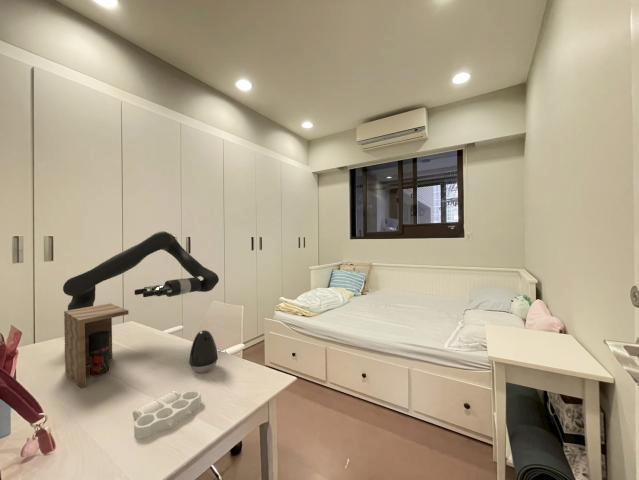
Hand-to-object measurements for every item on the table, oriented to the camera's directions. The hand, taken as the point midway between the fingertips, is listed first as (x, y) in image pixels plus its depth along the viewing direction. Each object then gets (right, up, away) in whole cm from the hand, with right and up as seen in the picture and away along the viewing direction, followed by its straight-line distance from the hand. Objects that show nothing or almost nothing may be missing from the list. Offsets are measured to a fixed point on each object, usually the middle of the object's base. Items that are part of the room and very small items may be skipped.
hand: (139, 293), depth 113 cm
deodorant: (-8, -28, -11) cm, 31 cm away
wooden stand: (-9, -28, -10) cm, 31 cm away
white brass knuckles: (+32, -29, -36) cm, 56 cm away
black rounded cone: (+31, -28, -9) cm, 43 cm away
